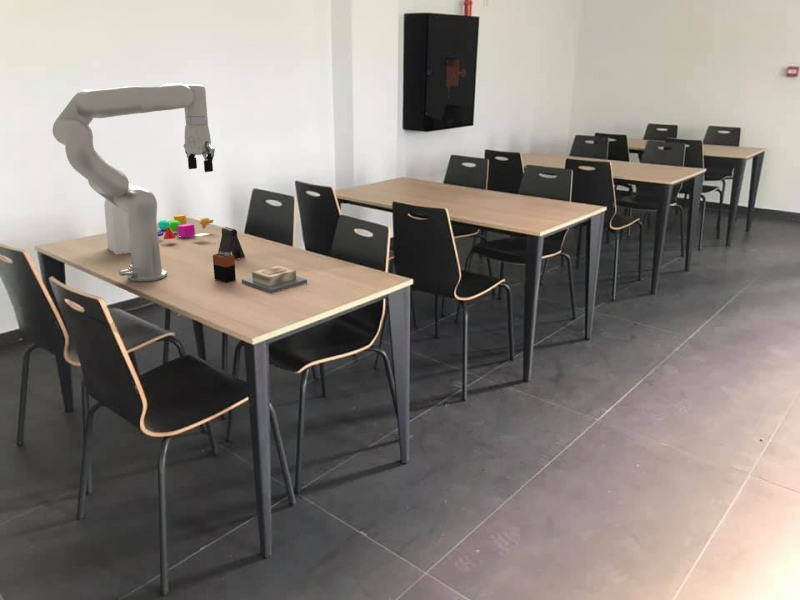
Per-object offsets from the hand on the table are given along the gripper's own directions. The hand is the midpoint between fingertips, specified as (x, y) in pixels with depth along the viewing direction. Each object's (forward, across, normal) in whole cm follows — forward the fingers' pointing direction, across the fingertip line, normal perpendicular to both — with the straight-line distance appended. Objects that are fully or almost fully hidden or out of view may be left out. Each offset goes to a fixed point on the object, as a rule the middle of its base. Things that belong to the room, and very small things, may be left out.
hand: (200, 170), depth 228 cm
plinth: (+34, +35, +2) cm, 49 cm away
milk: (+36, -42, -9) cm, 56 cm away
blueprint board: (+36, +35, +2) cm, 50 cm away
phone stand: (+36, -1, +11) cm, 38 cm away
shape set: (+36, -46, +18) cm, 61 cm away
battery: (+36, +20, -7) cm, 42 cm away
